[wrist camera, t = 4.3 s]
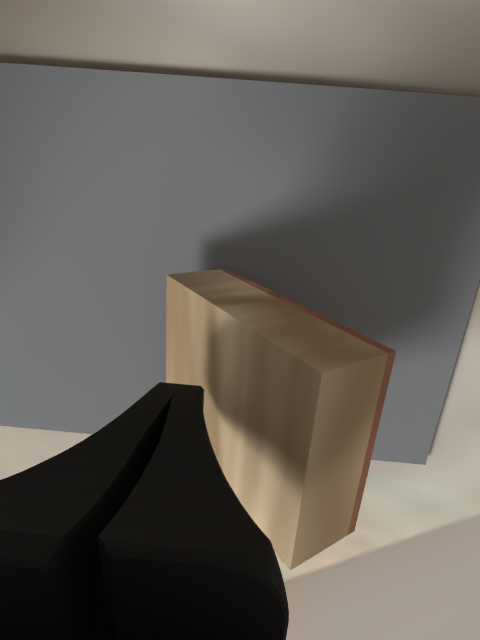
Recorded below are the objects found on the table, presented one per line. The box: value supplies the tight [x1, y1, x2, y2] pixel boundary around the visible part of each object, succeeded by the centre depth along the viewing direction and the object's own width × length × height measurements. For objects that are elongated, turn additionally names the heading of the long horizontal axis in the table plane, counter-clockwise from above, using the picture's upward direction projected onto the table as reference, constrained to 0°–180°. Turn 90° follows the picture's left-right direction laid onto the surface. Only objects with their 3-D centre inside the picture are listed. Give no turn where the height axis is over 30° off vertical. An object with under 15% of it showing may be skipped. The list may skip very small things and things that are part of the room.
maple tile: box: [166, 269, 396, 570], centre depth 14 cm, size 2×6×8 cm
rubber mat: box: [0, 62, 480, 465], centre depth 17 cm, size 20×15×1 cm
